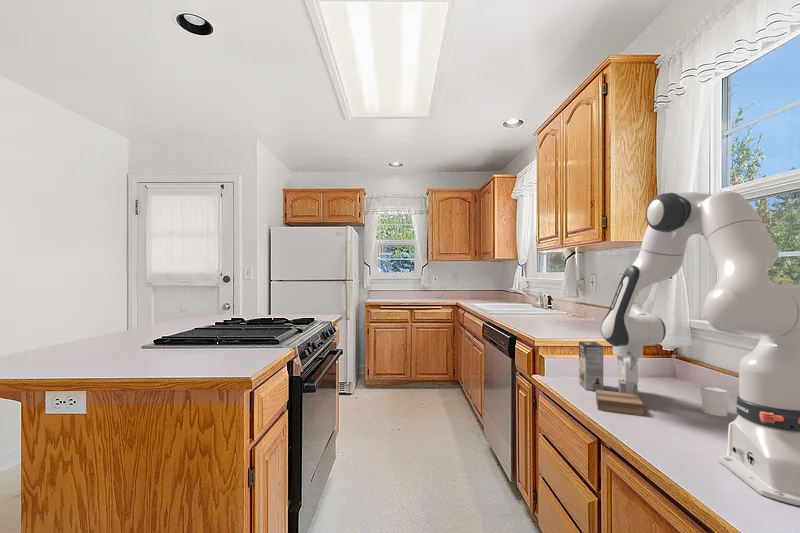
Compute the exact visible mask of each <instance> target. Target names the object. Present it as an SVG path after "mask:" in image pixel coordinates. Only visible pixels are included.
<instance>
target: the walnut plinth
mask: <svg viewBox="0 0 800 533" xmlns="http://www.w3.org/2000/svg"><path fill="white" fill-rule="evenodd" d="M595 400H596V407H597V410H598V411H606V412H614V413H621V414H628V415H629V414H630V415H636V416H644V414H645V413H644V411H645V410H644V403H643V402H642V400H641V398H640V396H639V394H631V393H622V392H619V391H612V390H604V389H603V390H595Z"/></svg>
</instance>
